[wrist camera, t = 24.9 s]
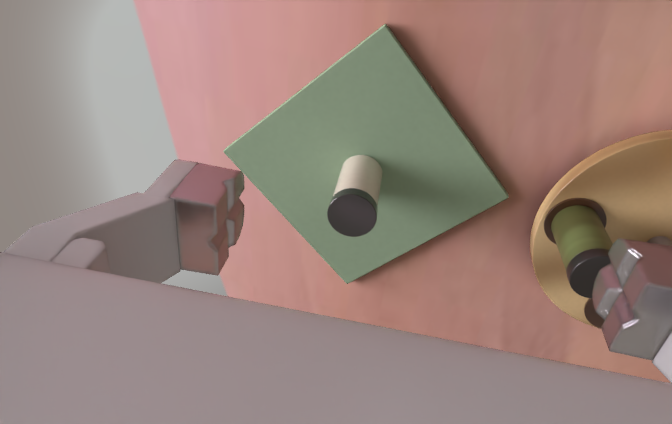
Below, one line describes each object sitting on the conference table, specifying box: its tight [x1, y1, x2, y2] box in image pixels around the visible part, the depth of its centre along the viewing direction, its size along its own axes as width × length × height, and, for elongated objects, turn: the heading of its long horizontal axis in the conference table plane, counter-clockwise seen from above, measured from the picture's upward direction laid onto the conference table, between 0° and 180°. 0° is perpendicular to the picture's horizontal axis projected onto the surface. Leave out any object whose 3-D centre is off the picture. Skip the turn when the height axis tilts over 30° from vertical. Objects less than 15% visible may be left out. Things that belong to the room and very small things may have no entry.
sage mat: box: [224, 24, 509, 284], centre depth 39 cm, size 15×15×1 cm
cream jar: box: [327, 155, 383, 237], centre depth 36 cm, size 3×3×6 cm
